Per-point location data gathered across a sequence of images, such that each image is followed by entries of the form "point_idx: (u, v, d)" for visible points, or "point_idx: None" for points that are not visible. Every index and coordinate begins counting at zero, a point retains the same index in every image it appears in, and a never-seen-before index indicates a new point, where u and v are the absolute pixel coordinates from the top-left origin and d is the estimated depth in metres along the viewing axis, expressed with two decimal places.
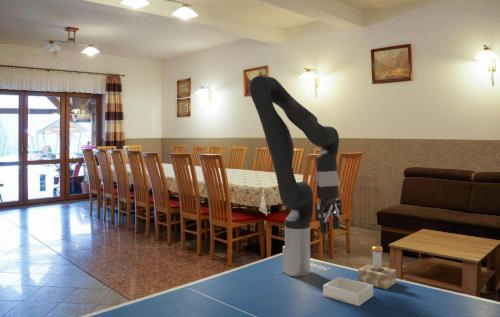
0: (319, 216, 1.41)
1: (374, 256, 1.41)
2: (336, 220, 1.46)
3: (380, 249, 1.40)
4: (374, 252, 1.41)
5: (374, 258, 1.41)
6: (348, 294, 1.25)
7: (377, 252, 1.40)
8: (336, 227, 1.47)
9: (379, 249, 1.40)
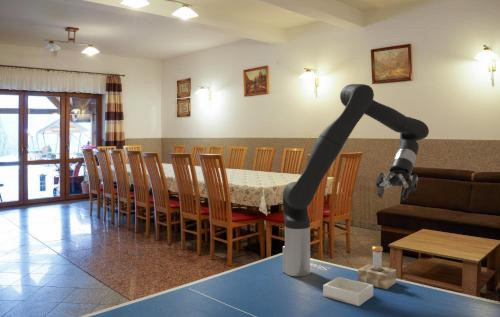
0: None
1: (374, 256, 1.41)
2: (383, 190, 1.54)
3: (380, 249, 1.40)
4: (374, 252, 1.41)
5: (374, 258, 1.41)
6: (348, 294, 1.25)
7: (377, 252, 1.40)
8: (381, 195, 1.52)
9: (379, 249, 1.40)
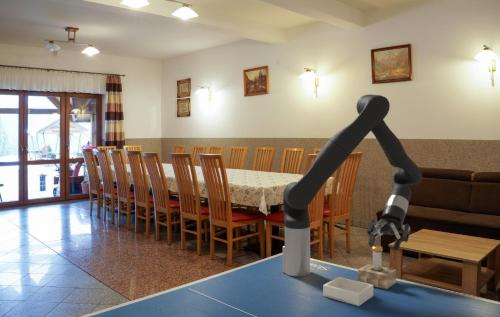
0: None
1: (374, 256, 1.41)
2: (374, 239, 1.49)
3: (380, 249, 1.40)
4: (374, 252, 1.41)
5: (374, 258, 1.41)
6: (348, 294, 1.25)
7: (377, 252, 1.40)
8: (372, 245, 1.48)
9: (379, 249, 1.40)
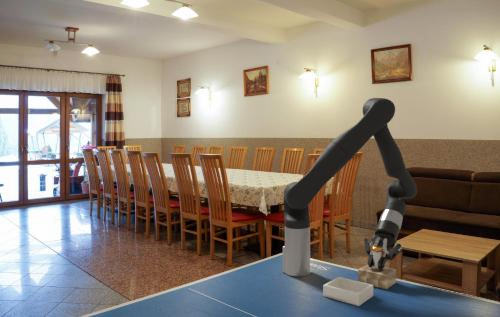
0: (386, 252, 1.40)
1: (374, 256, 1.41)
2: None
3: (380, 249, 1.40)
4: (374, 252, 1.41)
5: (374, 258, 1.41)
6: (348, 294, 1.25)
7: (377, 252, 1.40)
8: (371, 265, 1.41)
9: (379, 249, 1.40)
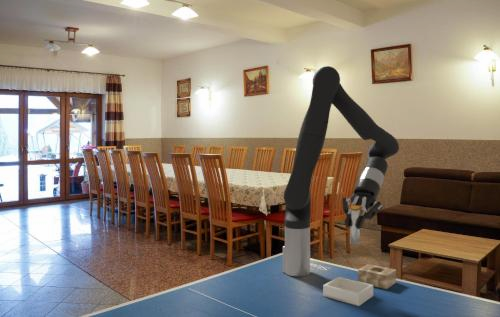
0: (364, 211, 1.31)
1: (352, 215, 1.31)
2: None
3: (358, 207, 1.30)
4: (352, 210, 1.31)
5: (352, 217, 1.31)
6: (348, 294, 1.25)
7: (355, 210, 1.30)
8: (349, 225, 1.32)
9: (357, 207, 1.30)
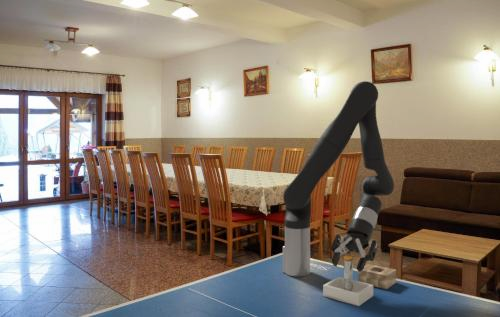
0: (364, 252, 1.28)
1: (345, 265, 1.29)
2: (339, 257, 1.33)
3: (351, 258, 1.28)
4: (345, 261, 1.29)
5: (345, 267, 1.29)
6: (348, 294, 1.25)
7: (348, 261, 1.28)
8: (336, 263, 1.32)
9: (350, 258, 1.28)
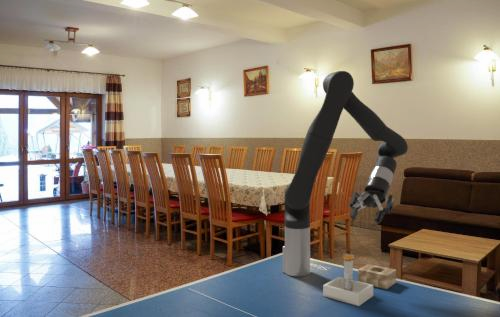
0: (381, 205, 1.37)
1: (345, 265, 1.29)
2: (357, 212, 1.42)
3: (351, 258, 1.28)
4: (345, 261, 1.29)
5: (345, 267, 1.29)
6: (348, 294, 1.25)
7: (348, 261, 1.28)
8: (354, 217, 1.41)
9: (350, 258, 1.28)
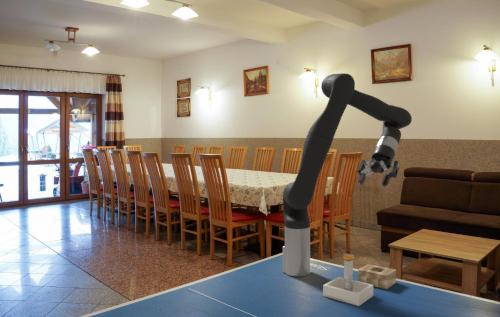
0: None
1: (345, 265, 1.29)
2: (364, 177, 1.53)
3: (351, 258, 1.28)
4: (345, 261, 1.29)
5: (345, 267, 1.29)
6: (348, 294, 1.25)
7: (348, 261, 1.28)
8: (362, 182, 1.52)
9: (350, 258, 1.28)
